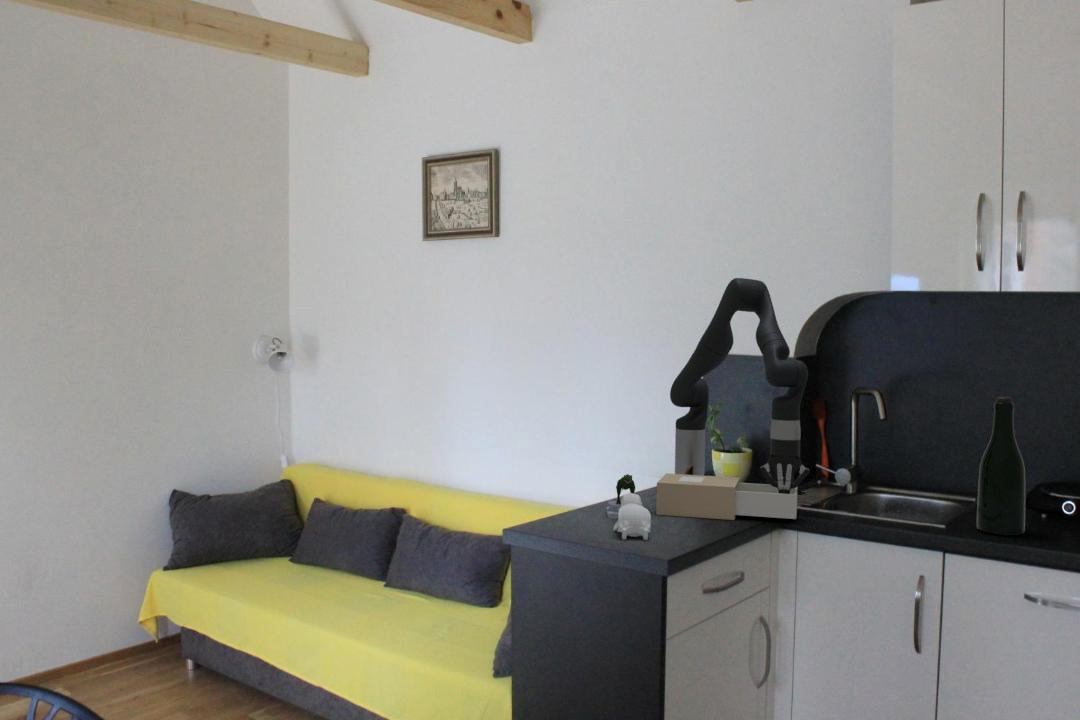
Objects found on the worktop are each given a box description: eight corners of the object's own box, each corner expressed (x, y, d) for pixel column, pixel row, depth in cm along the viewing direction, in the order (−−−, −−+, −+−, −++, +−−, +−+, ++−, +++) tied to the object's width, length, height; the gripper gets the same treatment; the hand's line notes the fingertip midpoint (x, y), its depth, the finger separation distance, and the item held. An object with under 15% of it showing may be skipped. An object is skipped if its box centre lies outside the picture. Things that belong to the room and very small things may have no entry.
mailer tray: (723, 504, 249) (723, 481, 248) (796, 509, 243) (797, 486, 243) (718, 513, 236) (719, 490, 235) (796, 519, 230) (796, 495, 230)
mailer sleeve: (665, 503, 254) (666, 473, 254) (739, 508, 249) (739, 477, 248) (656, 514, 239) (656, 482, 239) (734, 520, 233) (735, 486, 233)
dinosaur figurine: (609, 522, 229) (610, 475, 229) (604, 506, 249) (605, 463, 249) (646, 522, 229) (647, 476, 229) (638, 507, 249) (639, 464, 249)
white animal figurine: (652, 551, 212) (646, 515, 225) (654, 520, 208) (648, 486, 222) (615, 551, 212) (611, 515, 225) (617, 520, 208) (613, 485, 222)
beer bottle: (987, 525, 230) (991, 394, 229) (1031, 533, 223) (1036, 397, 221) (968, 531, 224) (972, 396, 223) (1013, 539, 216) (1017, 399, 215)
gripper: (812, 436, 238) (810, 502, 239) (759, 434, 242) (758, 499, 243) (812, 439, 231) (810, 508, 232) (758, 437, 235) (756, 504, 236)
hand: (783, 503), depth 237 cm, fingers closed
